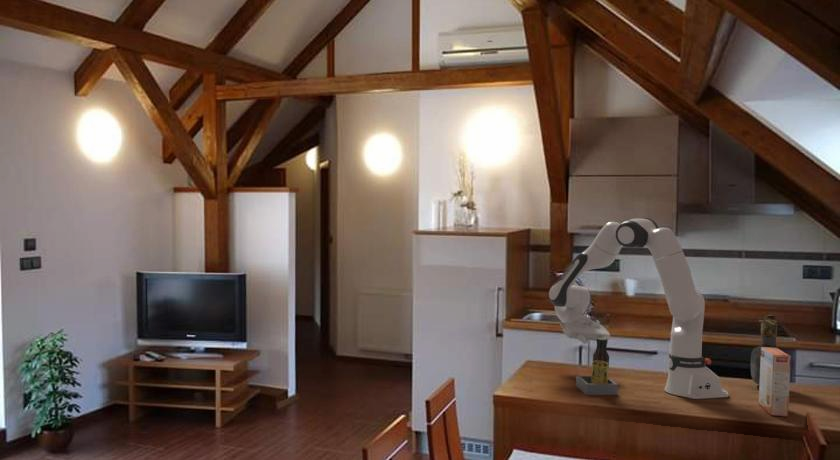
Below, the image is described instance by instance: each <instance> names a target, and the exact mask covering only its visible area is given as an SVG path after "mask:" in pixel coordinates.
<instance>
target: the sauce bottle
mask: <svg viewBox="0 0 840 460" xmlns="http://www.w3.org/2000/svg"><path fill="white" fill-rule="evenodd" d="M607 346H608V343H607V339H606V338H597V340H596V349H595V351H594V353H593V354H592V363H591V375H590V376H591V384H608V377H609V373H610V372H609V371H610V354H609V353H608V351H607Z"/></svg>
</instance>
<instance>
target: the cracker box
mask: <svg viewBox="0 0 840 460" xmlns="http://www.w3.org/2000/svg"><path fill="white" fill-rule="evenodd" d="M780 349H781V348H779V349H778V347H777V348H769V347H761V361H760V386H759V390H758V405H759V406H760V407H761V408H762V409H763V410H765V412H767V413H768V414H769V416H774V417H784V418H785V417H789V401H790V382H791V381H790V380H791V363H792V362H791V357H792V356H791V355H790V354H788V353H786V352H784V351H783V350H782V349H781V350H782V351H781V350H780Z"/></svg>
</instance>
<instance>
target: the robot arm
mask: <svg viewBox="0 0 840 460" xmlns="http://www.w3.org/2000/svg"><path fill="white" fill-rule="evenodd" d="M623 247H625V248H629V249H636V248H639V249H640V248H641V249H643V248H644V247H645V248H647V249H648V250H649V252H650V253H651V256H652V260H653V261H654V264H655V267H656V269H657V271H658V275H659V278H660V279H661V283H662V288H663V292H664V295H665V299H666V302H667V306H668V309H669V313H670V314H671V316H672V324H671V330H670V342H669V343H670V345H669V346H670V348H669V349H670V350H669V354H668V361H667V362H668V374H667V380H666V384H665V387H664V391H665V392H666V393H669V394H671V395H674V396H678V397H679V396H680V397H685V398H688V399H694V400H703V399H717V398H728V397H729V396H730V395H729V392H728V391H727V390H726V389H723V383H722V380H721V378H720V377H719V376H718V375H717V374H716V373H715V372H714V371H712V370H711V369H710V368H709V367H708V366H706V364H707V365H711V364H712V360H711V358H708V357H704V356H702V351H703V349H702V347H703V346H702V345H703V330H704V322H705V321H704V318H705V307H706V306H705V305H706V302H705V301H706V300H705V298H704V296H703V294H702V293H701V292H700V291H699V290H697V289H696V287H695V284H694V279H693V277H692V271H691V269H690V266H689V264H688V261H687V258H686V256H685V253H684V250H683V248H682V246H681V244H680V242H679V240H678V237H677V236H676V235H675V233H674V231H673V230H672V229H671V228H669V227H659V225H658V224H657V222H656V221H654V219H651V218H649V217H641V218H631V219H629V220H625V221H623V222H621V223H619V222H616V221H609V222H606V223H605V224H604V225H603V227H602V228H601V229H600V230H599V232H598V234H597V235H596V236H595V237H594V239H593V241H592V243H591V244H590V245H589V246H588V247H587V248H586V249H585V250H584V251H582V252H581V253H579V254H578V255H576V256H575V257H574V259H572V261H571V263H570V264H569V265H568V267H566V268H565V270H564V272H563V273H562V274H561V276H560V277H559V278H558V280H557V281H555V282H554V283H553V284H552V285H551V287H550V288H549V291H548V299H549V301H550V302H551V303H552V305H553V306H554V312H555V315H556V317H557V318H558V320H560V322H561V323H559V326H560V327H561V329H562V332H563V334H564V335H565V336H566V337H567V338H569V339H575V340H578V341H579V342H582V343H583V344H588V342H589V341H594V342H595V341H596V340H597V338H606V339H607V344H608V341H609V339H610V337H611V333H610V332H609V331H608V330H607V329H606V328H605V326H603V325H602V324H600V323H601V322H600V321H599V320H598V319H595V318H592V317H589V316H587V315H585V313H586V311H587V310H588V309H589V307H591V306H590V305H591V303H592V301H593V299H592V294H591V291H590V290H589V288H588V287H587V286H586V287H585V286H581V285H574V283H575V282H576V281H577V279H578V278H579V277H580V276H581V275H582V274H583V273H585V272H587V271H591V270H596V269H604V268H608V267H609V266H611V265H612V264H613V263H614V261H616V258H617V257H618V255H619V253H620V252H621V250H622V248H623Z"/></svg>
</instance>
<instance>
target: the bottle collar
mask: <svg viewBox="0 0 840 460" xmlns="http://www.w3.org/2000/svg"><path fill="white" fill-rule="evenodd" d="M591 376H592V375H576V376H575V377H576V379H575V386H576V388H578V389H579V390H580V391H581V392H582V393H583V394H584V395H586V396H618V395H619V384H618V383H617V382H615V381H614V380H613V379H612V378H610V377H609V376H608V384H591Z"/></svg>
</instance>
